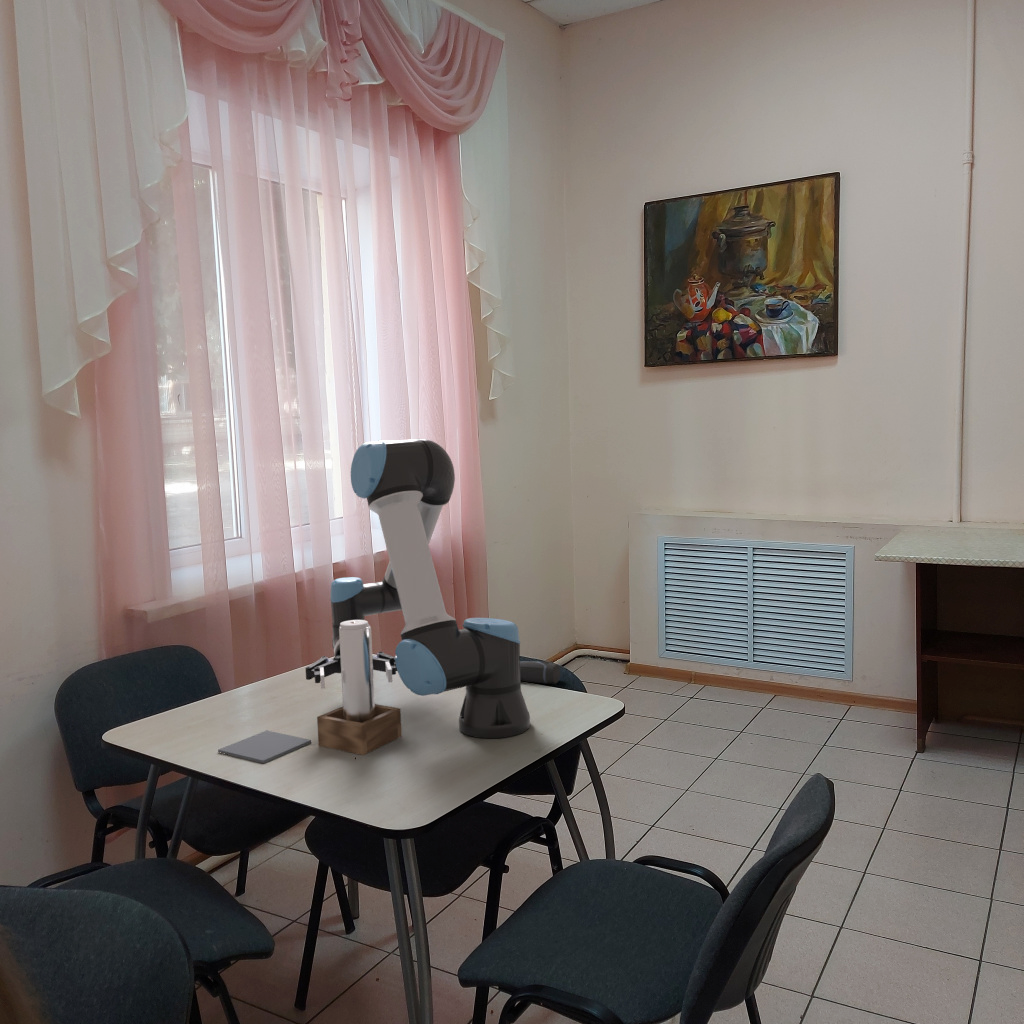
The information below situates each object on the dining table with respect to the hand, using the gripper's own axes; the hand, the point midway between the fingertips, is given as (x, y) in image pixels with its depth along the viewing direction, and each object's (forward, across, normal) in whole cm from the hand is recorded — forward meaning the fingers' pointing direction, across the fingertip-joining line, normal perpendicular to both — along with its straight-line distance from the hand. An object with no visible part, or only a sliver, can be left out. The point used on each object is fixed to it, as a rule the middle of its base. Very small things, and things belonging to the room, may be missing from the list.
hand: (356, 678), depth 186 cm
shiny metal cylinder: (-1, 0, -14) cm, 14 cm away
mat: (-3, +19, -13) cm, 23 cm away
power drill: (-32, -40, -14) cm, 53 cm away
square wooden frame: (-1, 0, -14) cm, 14 cm away
